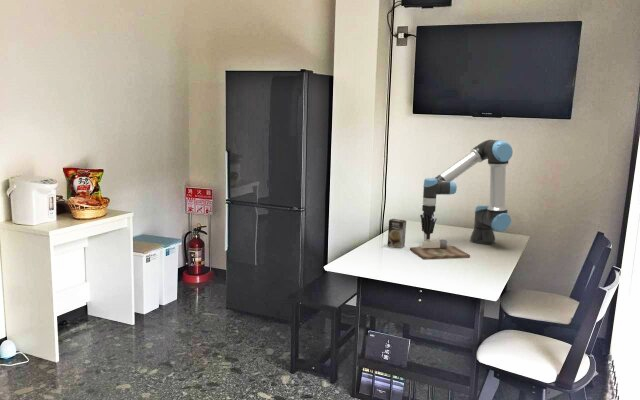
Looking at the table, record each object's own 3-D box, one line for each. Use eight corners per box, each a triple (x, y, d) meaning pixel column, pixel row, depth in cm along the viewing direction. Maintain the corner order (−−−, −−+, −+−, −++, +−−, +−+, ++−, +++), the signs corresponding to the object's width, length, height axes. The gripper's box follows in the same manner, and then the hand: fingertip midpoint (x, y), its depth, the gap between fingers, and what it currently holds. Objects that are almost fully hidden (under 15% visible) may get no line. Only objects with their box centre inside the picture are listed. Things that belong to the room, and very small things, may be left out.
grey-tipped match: (444, 246, 319) (445, 239, 318) (447, 248, 315) (448, 241, 314) (420, 247, 315) (421, 240, 315) (423, 249, 311) (424, 242, 310)
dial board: (453, 248, 322) (453, 245, 322) (469, 257, 303) (470, 254, 303) (409, 249, 316) (409, 246, 316) (423, 259, 297) (423, 256, 297)
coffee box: (387, 246, 323) (388, 220, 320) (390, 244, 329) (392, 218, 326) (401, 248, 319) (403, 221, 316) (405, 246, 324) (406, 220, 322)
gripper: (417, 203, 317) (414, 242, 321) (430, 207, 305) (427, 247, 309) (427, 202, 320) (425, 241, 324) (441, 206, 308) (438, 246, 312)
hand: (426, 244), depth 317 cm, fingers closed
